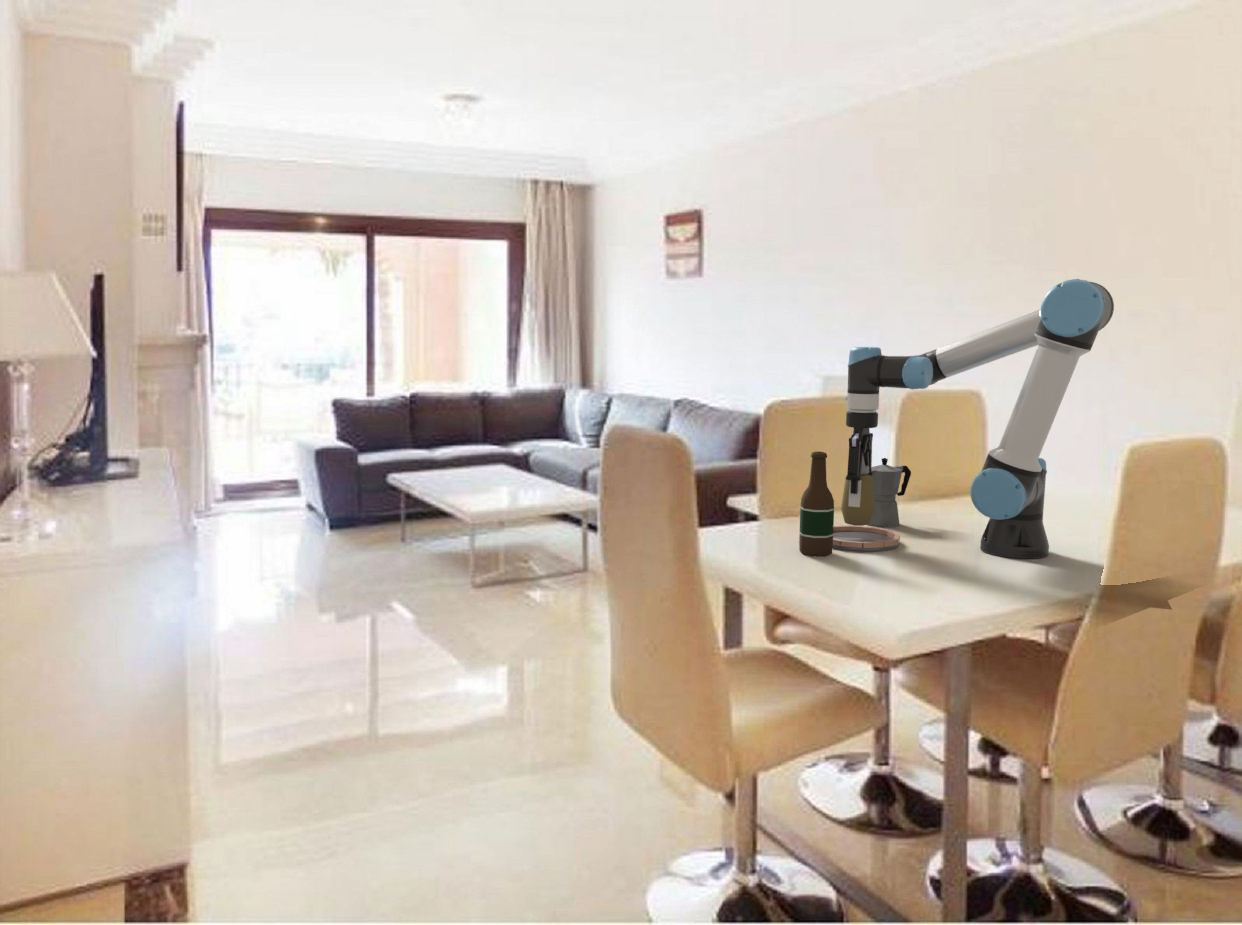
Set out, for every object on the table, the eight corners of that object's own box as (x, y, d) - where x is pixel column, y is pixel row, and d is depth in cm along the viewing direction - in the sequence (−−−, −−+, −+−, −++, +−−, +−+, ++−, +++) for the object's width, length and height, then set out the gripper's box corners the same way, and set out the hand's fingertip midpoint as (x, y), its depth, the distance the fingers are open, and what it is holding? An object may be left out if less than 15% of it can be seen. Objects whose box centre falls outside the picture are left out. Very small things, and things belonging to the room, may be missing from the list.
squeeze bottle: (876, 522, 241) (880, 450, 239) (870, 528, 234) (873, 454, 231) (843, 519, 245) (847, 448, 242) (836, 525, 237) (840, 452, 235)
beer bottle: (812, 558, 223) (816, 455, 220) (792, 551, 230) (795, 451, 227) (839, 554, 227) (843, 453, 223) (818, 548, 234) (821, 449, 230)
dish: (915, 544, 238) (916, 535, 238) (864, 555, 226) (865, 546, 226) (849, 530, 254) (850, 522, 253) (799, 540, 241) (799, 532, 241)
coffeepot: (872, 529, 256) (875, 461, 253) (851, 522, 264) (853, 457, 262) (919, 524, 262) (922, 458, 259) (896, 518, 270) (899, 454, 268)
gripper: (857, 407, 245) (853, 496, 249) (835, 413, 228) (831, 509, 232) (887, 408, 242) (882, 499, 245) (867, 414, 225) (863, 512, 228)
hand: (858, 504), depth 238 cm, fingers closed on squeeze bottle, 6 cm apart
